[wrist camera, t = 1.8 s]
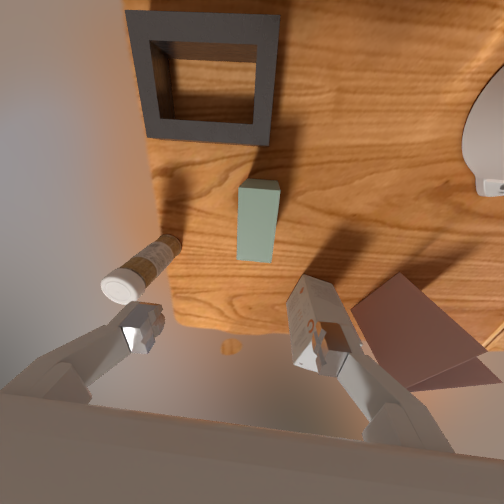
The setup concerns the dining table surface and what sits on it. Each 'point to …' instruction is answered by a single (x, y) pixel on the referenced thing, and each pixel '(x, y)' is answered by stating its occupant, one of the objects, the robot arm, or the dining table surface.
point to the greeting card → (419, 339)
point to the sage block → (257, 219)
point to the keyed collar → (202, 48)
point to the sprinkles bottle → (140, 270)
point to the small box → (312, 317)
